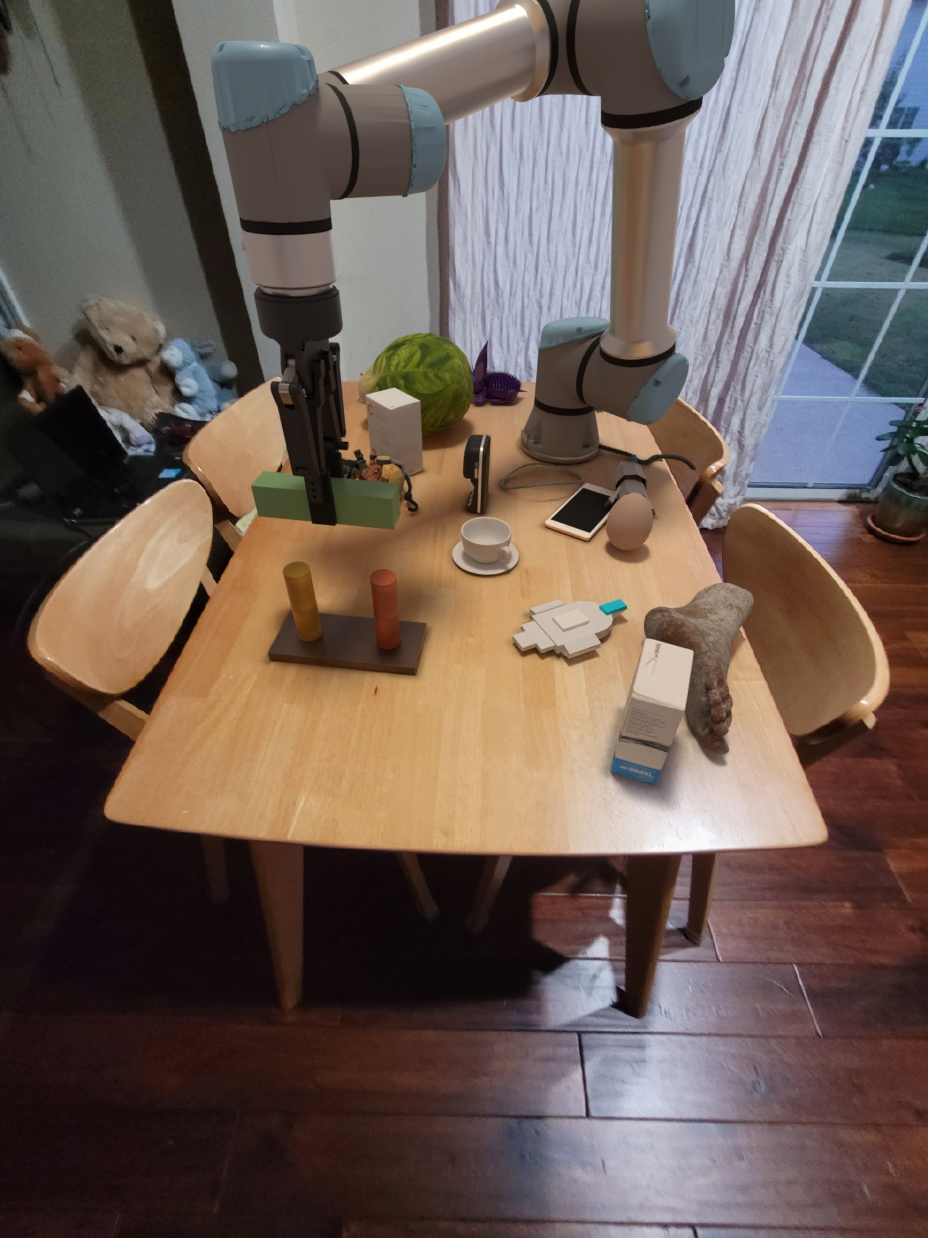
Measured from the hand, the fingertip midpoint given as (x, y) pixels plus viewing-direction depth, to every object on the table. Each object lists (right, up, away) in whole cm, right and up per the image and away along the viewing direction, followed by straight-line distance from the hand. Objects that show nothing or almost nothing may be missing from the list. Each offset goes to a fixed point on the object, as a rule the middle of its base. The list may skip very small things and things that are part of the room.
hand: (330, 513), depth 67 cm
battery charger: (+17, +7, +31) cm, 37 cm away
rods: (+1, -15, +5) cm, 16 cm away
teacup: (+19, -3, +20) cm, 28 cm away
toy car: (-7, +12, +36) cm, 38 cm away
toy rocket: (+29, -12, +6) cm, 32 cm away
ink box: (+34, -26, -5) cm, 43 cm away
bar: (0, 0, 0) cm, 0 cm away
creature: (+21, +38, +65) cm, 78 cm away
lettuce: (+5, +27, +53) cm, 59 cm away
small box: (+3, +16, +40) cm, 43 cm away
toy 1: (-3, +16, +32) cm, 36 cm away
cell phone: (+36, +5, +30) cm, 47 cm away
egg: (+40, -1, +22) cm, 46 cm away
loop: (+31, +16, +41) cm, 54 cm away
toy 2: (+43, +3, +24) cm, 49 cm away
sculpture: (+39, -18, -2) cm, 43 cm away
